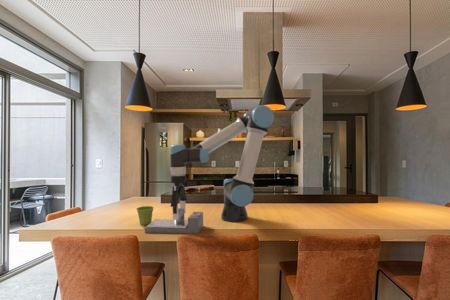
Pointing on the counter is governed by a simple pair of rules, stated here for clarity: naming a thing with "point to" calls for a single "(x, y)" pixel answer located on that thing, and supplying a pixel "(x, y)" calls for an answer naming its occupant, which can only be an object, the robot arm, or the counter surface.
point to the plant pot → (145, 214)
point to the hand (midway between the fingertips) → (179, 216)
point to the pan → (167, 224)
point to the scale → (193, 227)
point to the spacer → (180, 216)
